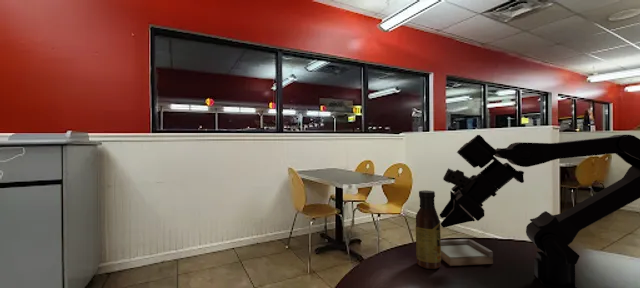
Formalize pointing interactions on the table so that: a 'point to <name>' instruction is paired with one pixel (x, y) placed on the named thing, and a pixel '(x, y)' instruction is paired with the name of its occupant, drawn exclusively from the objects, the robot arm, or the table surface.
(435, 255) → the sauce bottle
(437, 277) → the table surface
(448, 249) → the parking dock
